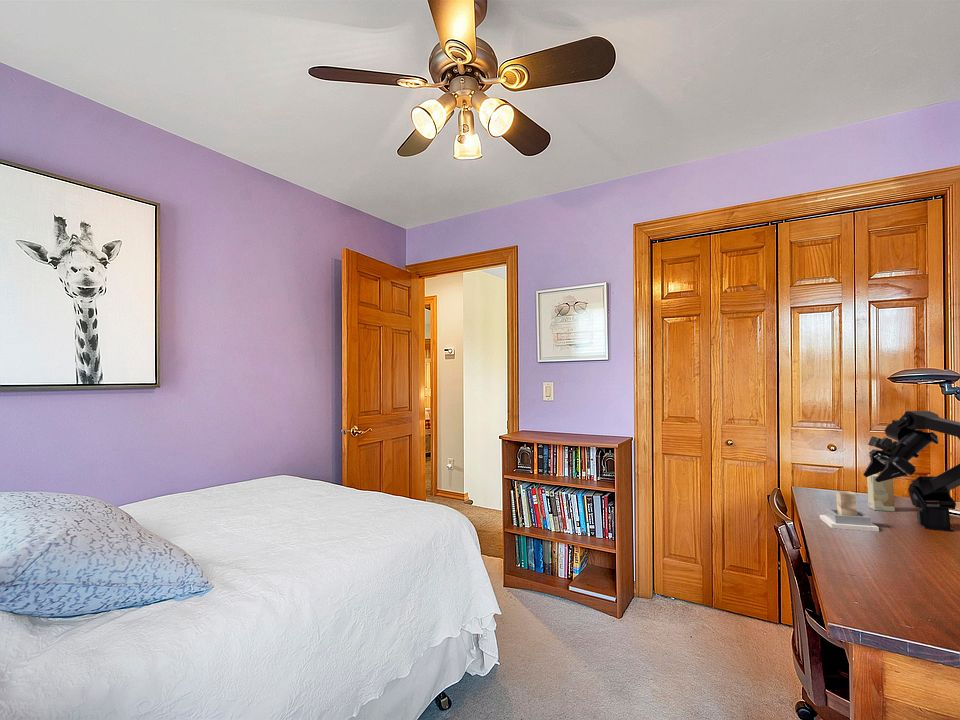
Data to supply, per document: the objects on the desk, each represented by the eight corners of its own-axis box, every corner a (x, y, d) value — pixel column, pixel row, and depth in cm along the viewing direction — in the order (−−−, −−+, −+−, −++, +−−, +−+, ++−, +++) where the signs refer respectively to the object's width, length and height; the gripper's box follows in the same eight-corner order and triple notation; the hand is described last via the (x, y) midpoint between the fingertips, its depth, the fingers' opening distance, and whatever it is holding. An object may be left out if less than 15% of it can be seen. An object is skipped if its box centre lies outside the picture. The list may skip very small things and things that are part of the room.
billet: (852, 519, 149) (850, 491, 150) (857, 523, 146) (855, 494, 146) (837, 518, 151) (836, 490, 151) (842, 521, 147) (840, 493, 148)
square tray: (863, 521, 151) (862, 509, 152) (879, 531, 141) (878, 519, 141) (819, 518, 156) (819, 507, 156) (831, 528, 145) (830, 516, 145)
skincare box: (874, 510, 164) (871, 475, 164) (868, 507, 168) (865, 473, 169) (896, 511, 162) (893, 476, 162) (889, 508, 166) (886, 474, 167)
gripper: (874, 426, 161) (838, 456, 164) (899, 430, 144) (859, 465, 147) (904, 449, 158) (867, 480, 161) (934, 457, 140) (892, 491, 144)
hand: (870, 478), depth 153 cm, fingers open, 9 cm apart
